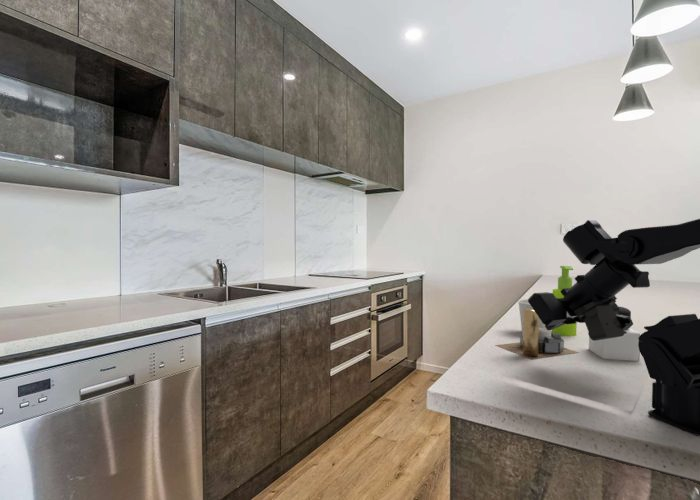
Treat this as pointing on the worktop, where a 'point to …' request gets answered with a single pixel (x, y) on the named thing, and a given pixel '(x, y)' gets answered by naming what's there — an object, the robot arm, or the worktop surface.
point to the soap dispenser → (563, 283)
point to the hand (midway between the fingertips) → (547, 328)
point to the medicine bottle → (618, 344)
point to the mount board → (542, 333)
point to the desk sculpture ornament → (537, 337)
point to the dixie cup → (525, 305)
